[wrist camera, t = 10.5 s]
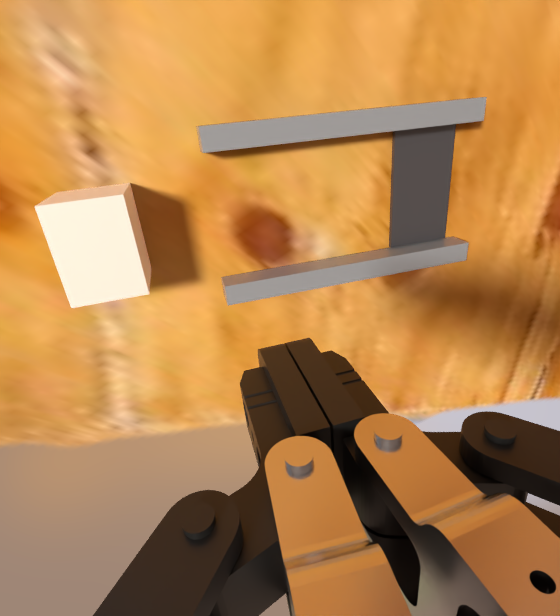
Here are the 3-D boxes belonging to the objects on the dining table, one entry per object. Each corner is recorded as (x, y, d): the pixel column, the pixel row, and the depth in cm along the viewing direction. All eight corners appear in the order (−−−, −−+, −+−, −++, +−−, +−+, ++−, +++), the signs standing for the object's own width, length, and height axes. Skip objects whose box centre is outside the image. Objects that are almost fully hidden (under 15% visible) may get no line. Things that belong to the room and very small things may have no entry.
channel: (467, 98, 29) (486, 96, 28) (451, 253, 35) (466, 260, 33) (196, 126, 26) (198, 126, 24) (224, 295, 31) (227, 305, 29)
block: (130, 182, 26) (123, 194, 22) (151, 268, 29) (149, 293, 24) (57, 191, 25) (34, 206, 21) (86, 279, 28) (71, 308, 24)
